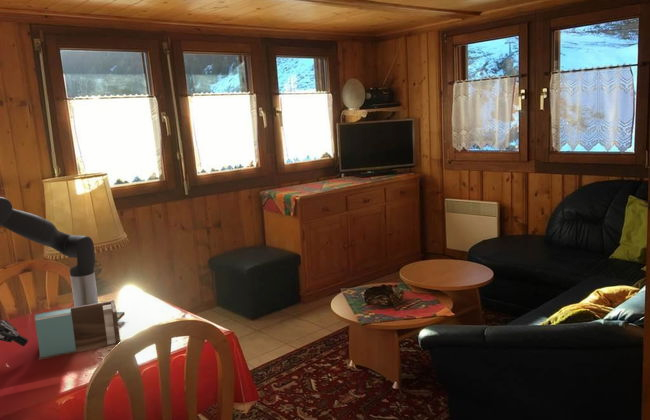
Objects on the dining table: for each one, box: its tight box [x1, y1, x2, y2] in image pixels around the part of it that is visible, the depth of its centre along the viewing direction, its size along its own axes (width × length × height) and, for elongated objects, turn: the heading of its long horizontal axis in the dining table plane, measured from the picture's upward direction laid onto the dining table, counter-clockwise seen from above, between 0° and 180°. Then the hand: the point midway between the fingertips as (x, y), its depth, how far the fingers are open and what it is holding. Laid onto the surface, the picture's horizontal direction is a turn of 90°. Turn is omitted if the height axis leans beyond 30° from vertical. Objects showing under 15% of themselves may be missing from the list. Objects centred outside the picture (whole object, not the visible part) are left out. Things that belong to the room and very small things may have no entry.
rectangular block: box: [34, 308, 76, 358], centre depth 190 cm, size 4×11×14 cm, turn 114°
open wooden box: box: [35, 299, 121, 361], centre depth 195 cm, size 13×26×14 cm, turn 114°
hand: (26, 343), depth 186 cm, fingers closed
